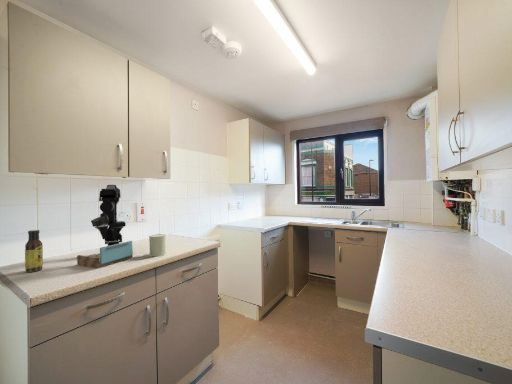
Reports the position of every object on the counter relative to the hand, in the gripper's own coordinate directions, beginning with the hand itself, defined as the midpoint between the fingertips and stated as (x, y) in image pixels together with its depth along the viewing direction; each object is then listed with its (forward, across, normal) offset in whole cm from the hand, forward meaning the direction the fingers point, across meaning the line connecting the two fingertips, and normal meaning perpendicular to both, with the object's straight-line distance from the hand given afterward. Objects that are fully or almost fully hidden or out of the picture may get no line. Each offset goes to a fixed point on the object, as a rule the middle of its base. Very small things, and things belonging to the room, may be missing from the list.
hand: (109, 239), depth 126 cm
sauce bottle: (+12, -22, -23) cm, 34 cm away
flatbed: (+12, -2, 0) cm, 12 cm away
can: (+12, +15, +19) cm, 27 cm away
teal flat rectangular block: (+10, +6, 0) cm, 12 cm away
